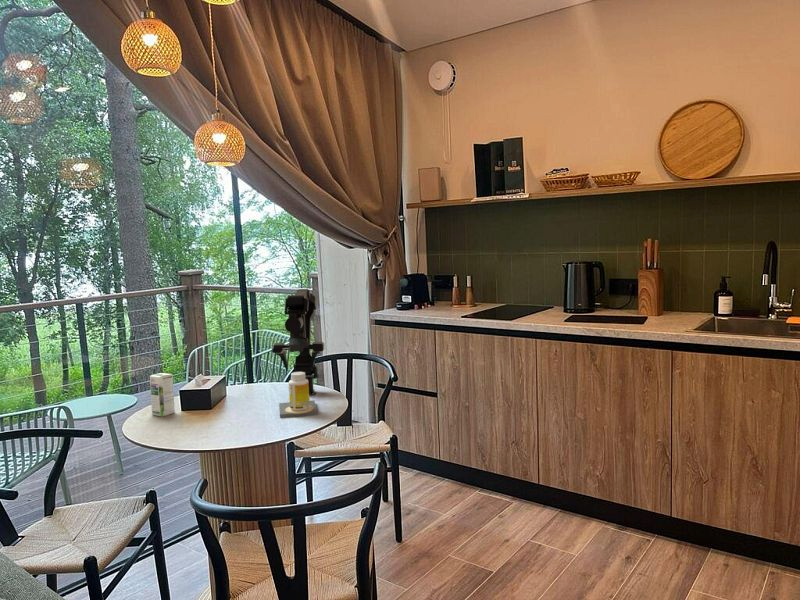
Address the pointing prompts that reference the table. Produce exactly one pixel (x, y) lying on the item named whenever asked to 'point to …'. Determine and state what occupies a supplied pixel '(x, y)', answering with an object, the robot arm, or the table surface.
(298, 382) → the supplement bottle
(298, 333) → the robot arm
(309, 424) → the table surface
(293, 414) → the plate
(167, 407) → the syrup box
